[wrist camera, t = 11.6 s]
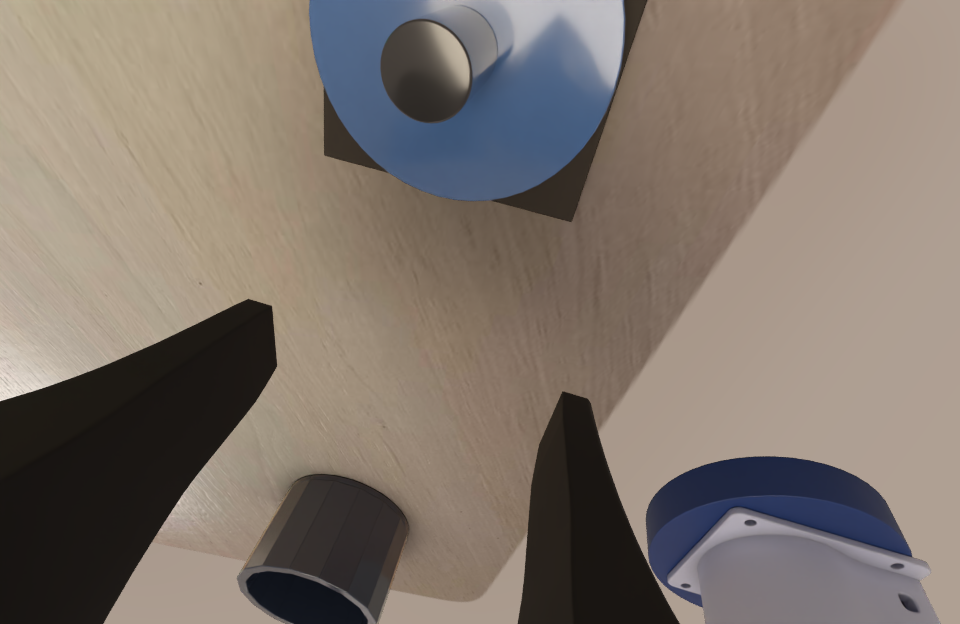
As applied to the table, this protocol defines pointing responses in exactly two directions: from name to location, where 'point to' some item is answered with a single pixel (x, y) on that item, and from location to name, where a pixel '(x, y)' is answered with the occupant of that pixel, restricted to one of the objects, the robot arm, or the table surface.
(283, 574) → the pot
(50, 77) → the table surface
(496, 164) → the lid
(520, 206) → the mat
